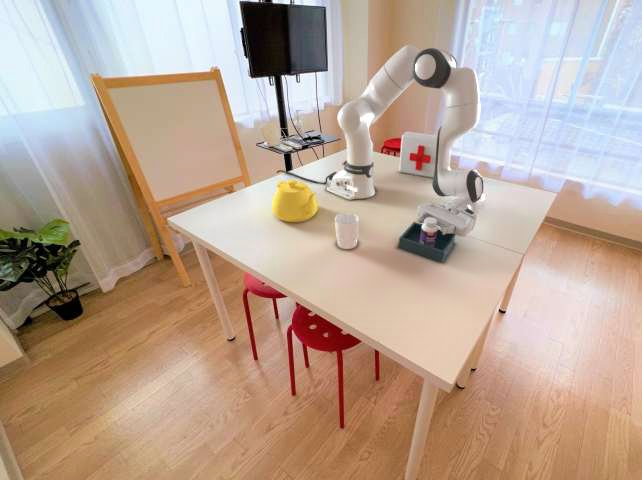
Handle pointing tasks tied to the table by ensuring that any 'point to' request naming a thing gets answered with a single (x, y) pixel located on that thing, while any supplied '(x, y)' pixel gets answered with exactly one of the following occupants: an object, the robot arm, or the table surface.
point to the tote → (438, 252)
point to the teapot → (294, 201)
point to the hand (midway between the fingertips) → (430, 226)
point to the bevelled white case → (418, 154)
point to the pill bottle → (429, 232)
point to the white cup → (346, 230)
